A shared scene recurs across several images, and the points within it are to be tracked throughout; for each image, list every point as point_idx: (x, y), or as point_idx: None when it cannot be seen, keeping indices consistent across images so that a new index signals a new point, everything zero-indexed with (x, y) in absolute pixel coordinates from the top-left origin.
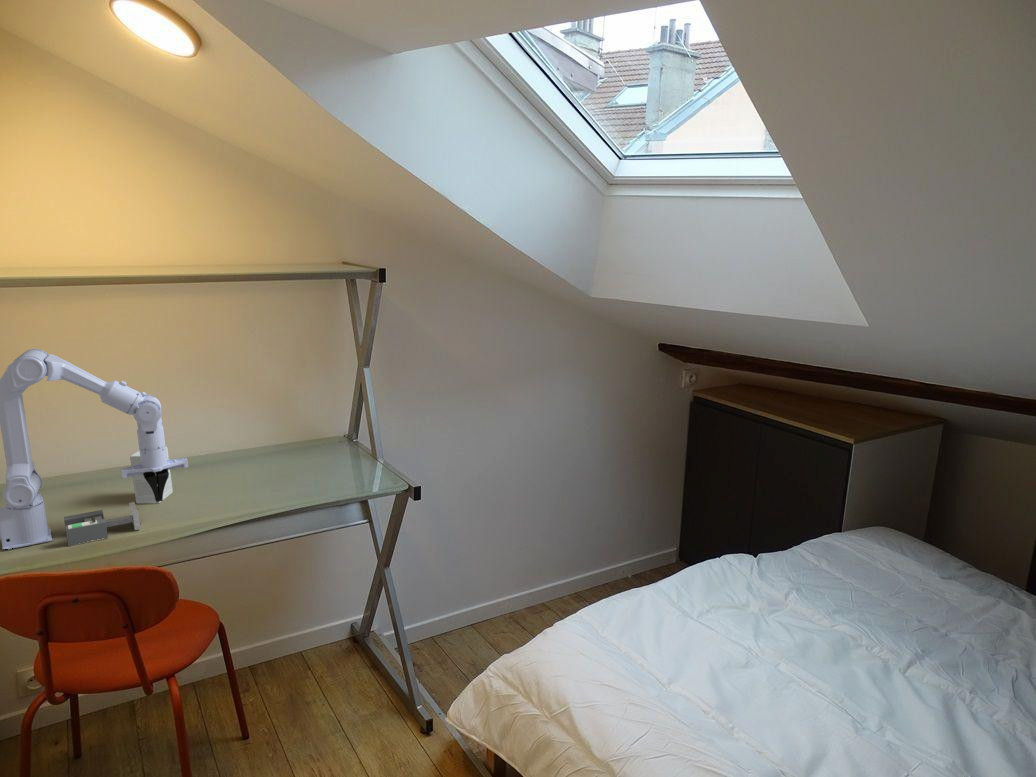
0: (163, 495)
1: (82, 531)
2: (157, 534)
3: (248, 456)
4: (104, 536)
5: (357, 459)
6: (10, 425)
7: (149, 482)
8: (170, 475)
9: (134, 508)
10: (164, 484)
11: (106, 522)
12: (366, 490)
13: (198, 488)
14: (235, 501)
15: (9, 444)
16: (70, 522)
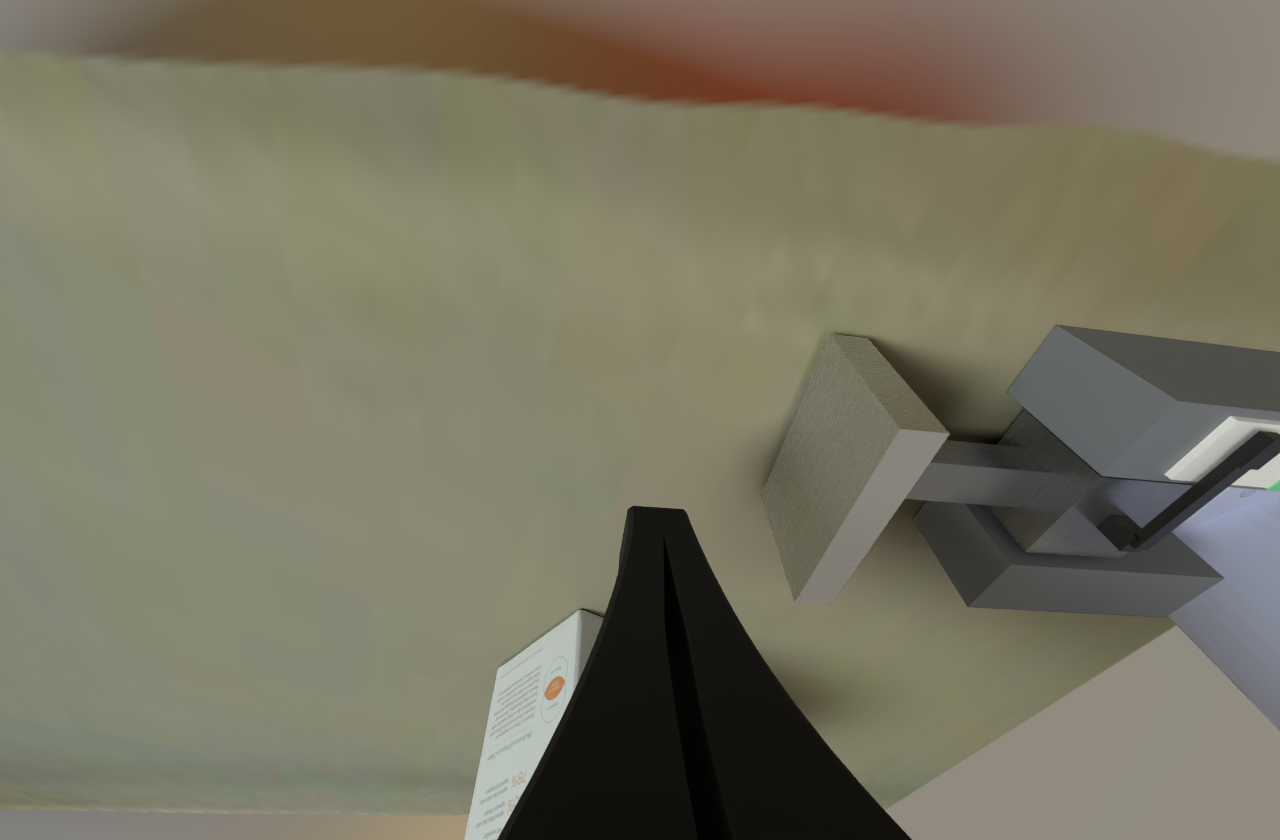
0: (548, 651)
1: None
2: (779, 134)
3: (184, 779)
4: (1092, 337)
5: None
6: None
7: (840, 786)
8: (479, 769)
9: (874, 504)
10: (591, 686)
11: (1027, 470)
12: None
13: (379, 659)
14: (95, 434)
15: None
16: (1175, 556)
